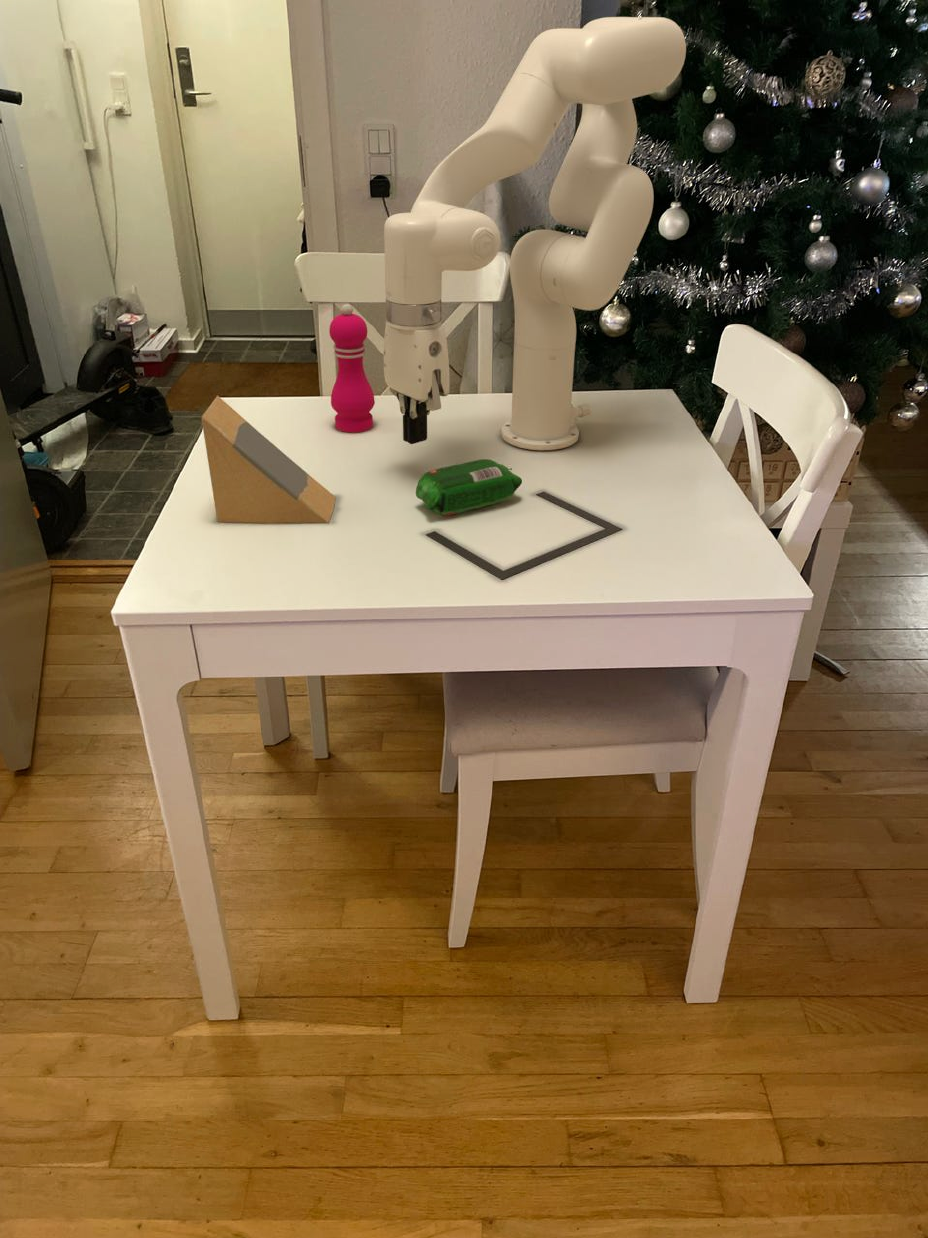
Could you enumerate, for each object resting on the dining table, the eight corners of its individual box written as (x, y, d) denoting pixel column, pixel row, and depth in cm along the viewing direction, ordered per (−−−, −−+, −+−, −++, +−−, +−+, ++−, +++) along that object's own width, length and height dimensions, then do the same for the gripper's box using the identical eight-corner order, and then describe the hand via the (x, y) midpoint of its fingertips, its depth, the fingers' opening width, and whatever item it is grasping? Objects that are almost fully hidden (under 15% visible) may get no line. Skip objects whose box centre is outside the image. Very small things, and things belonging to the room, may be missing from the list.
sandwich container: (329, 523, 127) (321, 417, 119) (216, 522, 127) (200, 416, 119) (337, 496, 135) (330, 394, 127) (230, 495, 135) (215, 393, 127)
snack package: (530, 501, 134) (531, 467, 131) (430, 524, 127) (430, 488, 125) (504, 483, 139) (505, 450, 136) (408, 504, 133) (407, 469, 130)
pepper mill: (338, 417, 161) (330, 297, 151) (380, 419, 161) (374, 299, 150) (327, 432, 155) (318, 308, 145) (370, 435, 155) (364, 310, 144)
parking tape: (543, 491, 136) (543, 491, 136) (622, 529, 126) (622, 528, 126) (425, 534, 125) (425, 534, 125) (502, 579, 115) (502, 579, 115)
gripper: (470, 319, 125) (467, 450, 135) (403, 297, 135) (405, 420, 145) (425, 328, 121) (425, 462, 131) (359, 305, 131) (365, 431, 140)
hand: (415, 440), depth 138 cm, fingers closed
